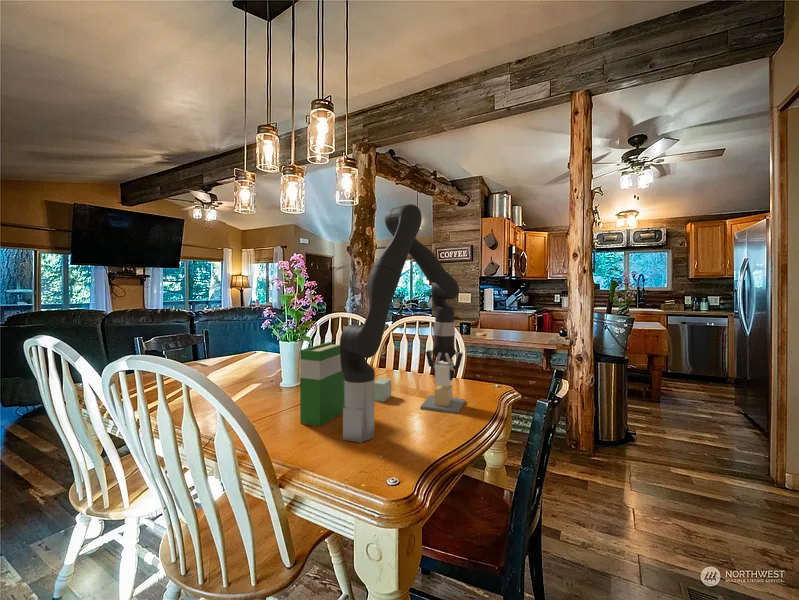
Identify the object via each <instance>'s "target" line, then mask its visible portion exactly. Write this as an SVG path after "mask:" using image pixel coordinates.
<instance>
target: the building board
mask: <svg viewBox="0 0 799 600" xmlns="http://www.w3.org/2000/svg"><path fill="white" fill-rule="evenodd" d="M465 403H466V399H465V398H457V397H453V384H450V385H449V386H442V385H436V387H435V388H434V395H432V394H431V395H428V397H427V398H426V399H425V400H424V402H423V403H422V404H421V405H420V410H424V409H425V410H426V411H427V410H428V411H433V410H434V411H433V412H441V411H442V412H443V413H449V412H450V413H449V414H457V413H458V415H459V414H460V412H461V411H462V409H463V407H464V405H465ZM462 406H463V407H462ZM461 408H462V409H461ZM460 410H461V411H460Z"/></svg>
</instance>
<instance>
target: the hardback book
mask: <svg viewBox="0 0 799 600" xmlns="http://www.w3.org/2000/svg"><path fill="white" fill-rule="evenodd" d="M299 352H300V353H299V360H300V361H299V364H300V366H299V367H300V368H299V372H300V374H299V378H300V379H299V383H300V384H299V387H300V389H299V390H300V391H299V395H300V397H299V398H300V399H299V402H300V404H299V405H300V408H299V409H300V411H299V412H300V414H299V415H300V417H299V418H300V421H299V422H301V423H306V424H305V425H307V424H310V425H309V426H313V425H315V426H314V427H318V426H320V427H321V425H322V426H324V425H325V424H326V423H328V422H330V421H331V420H332V419H334V418H336V417H337V416H339V415H341V414H343V408H344V375H343V372H342V369H341V360H340V344H333V342H332V341H328V342H325V343H321V344H317V345H314V346H311V347H307V348H303V349H300V350H299ZM301 423H300V424H301Z"/></svg>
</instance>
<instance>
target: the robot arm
mask: <svg viewBox="0 0 799 600" xmlns="http://www.w3.org/2000/svg"><path fill="white" fill-rule="evenodd" d="M422 216H423V215H422V212H421V210H420V208H419V207H418V206H417V205H416V204H411V203H409V204H404V205H400V206H396V207H393V208H391V209H389V210H387V212H386V214H385V215H384V223H385V226H386V228H387V230H388V233H390V234H391V235H392V236H393V237H392V239H391V241H390V243H389V244H387V246H386V247H385V248H384V250H383V251H382V252H381V253H380V254H379V256H378V257H377V259H375V261H374V263H373V265H372V267H371V270H370V273H369V276H368V279H367V282H366V285H367V287H366V289H367V296H368V303H369V305H368V311H367V312H368V313H367V315H366V318H365V320H364V322H363V324H355V323H354V324H348V325H347V326H345V327H344V328H343V330H342V332H341V334H340V338H339V345H340V360H341V369H342V372H343V375H344V408H343V412H342V440H343V441H348V442H349V441H350V442H355V443H360V444H361V443H364V442H365V441H369V440H371V439H373V438H375V405H376V404H375V403H376V401H375V381H376V377H375V376H376V374H375V373H376V372H375V369H374V367H372V366H371V365H370V364H369V362H368V361H367V360H366V359H367V358H368V359H370V358H373V357H374V356H375V355H376V354H377V353H378V351H379V349H380V348H381V347H380V346H381V345H382V344H381V343H382V340H383V337H384V333H385V328H386V323H387V319H388V315H389V311H390V308H391V306H392V301H393V298H394V295H395V293H396V290H397V288H398V285H399V282H400V279H401V276H402V272H403V269H404V267H405V264H406V261H407V259H408V256H409V255H410V257H411V258H412V259H413V261H414V262H415V263H416V264H417V266H418V267H419V269H420V270H421V272H422V273H423V275H424V276H425V278H426V279H427V281H428V282H430V283H432V285H431V289H430V291H431V293H430V294H431V298H432V303H433V306H434V307H433V308H434V312H435V313H434V319H435V320H434V324H435V325H434V336H433V338H434V340H433V341H434V345H433V349H430V350H429V349H428V350H427V351H426V352H425V354H426V360H427V363H428V367H430V368H432V369H433V377H434V378H435V366H436V365H437V364H438V363H439V362H448V364H449V365H450V369H451V370H450V380H452V381H453V379H454V378H455V370H459V368H460V365H461V363H462V358H463V355H464V354H463V352H459V351H456V349H455V348H456V347H455V346H456V345H455V344H456V343H455V341H456V340H455V338H456V337H455V336H456V335H455V334H456V330H455V329H456V326H455V308H454V307H453V306H451V305H449V304H448V303H447V300H455V299H457V297H458V296H459V295H460V286H459V284H458V281H456V279H455V278H454V277H453V276H452V275H451V274H450V273H449V272H448V271H446V270H445V268H444V267H443V265H442V263H441V262H440V260H439V259H438V257H437V255H436V254H435V253H434V252H433V251H432V250H431V249H429V247H427V246H425V244H423V243H421V242H420V241H419V240H418V239H417V236H418V233H419V230H420V229H421V226H422ZM433 355H434V356H435V358H436V359H435V361H433ZM454 356H455V357H456V363H454V360H453V358H454Z"/></svg>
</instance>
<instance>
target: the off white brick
mask: <svg viewBox="0 0 799 600" xmlns="http://www.w3.org/2000/svg"><path fill="white" fill-rule="evenodd" d="M450 370H451V369H450V365H449V364H448V362H447V361H440V362H439V363H438V364H437V365H436V366H435V377H434V385H436V386H438V385H442V386H449V385H451V383H452V382H453V379H452V380H450Z"/></svg>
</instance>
